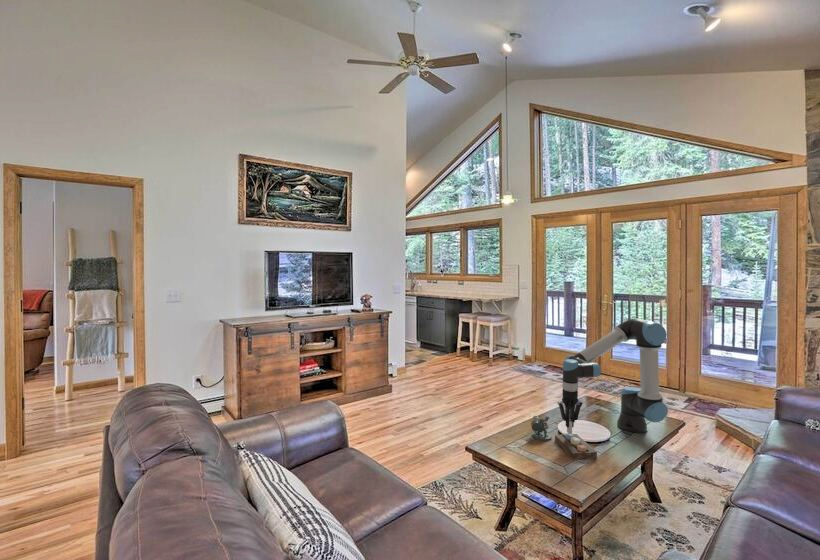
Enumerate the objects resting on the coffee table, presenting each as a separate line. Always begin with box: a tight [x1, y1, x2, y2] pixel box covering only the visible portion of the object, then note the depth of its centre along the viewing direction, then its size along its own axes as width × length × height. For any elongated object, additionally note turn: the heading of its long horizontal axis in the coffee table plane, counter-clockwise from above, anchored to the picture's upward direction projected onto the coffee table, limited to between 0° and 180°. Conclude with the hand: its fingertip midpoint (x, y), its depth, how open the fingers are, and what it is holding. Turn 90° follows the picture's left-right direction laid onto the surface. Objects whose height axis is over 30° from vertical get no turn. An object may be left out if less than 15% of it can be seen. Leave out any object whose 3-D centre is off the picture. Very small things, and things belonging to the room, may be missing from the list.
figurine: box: [530, 415, 553, 442], centre depth 221 cm, size 11×11×12 cm
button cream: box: [570, 437, 580, 446], centre depth 206 cm, size 4×4×3 cm
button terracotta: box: [577, 445, 587, 452], centre depth 200 cm, size 4×4×3 cm
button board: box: [554, 433, 598, 461], centre depth 207 cm, size 12×20×4 cm, turn 5°
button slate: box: [564, 432, 573, 440], centre depth 213 cm, size 4×4×3 cm
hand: (569, 432), depth 213 cm, fingers closed
